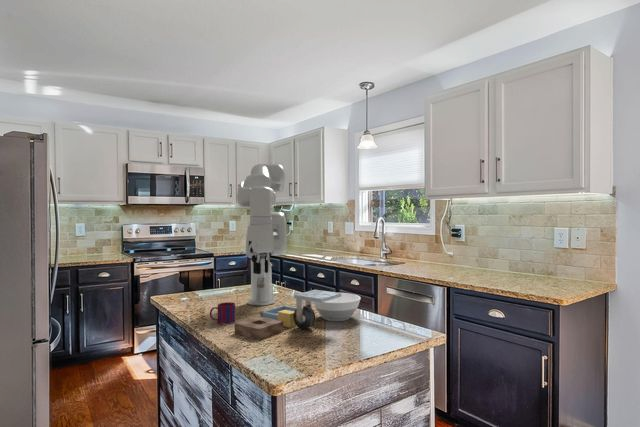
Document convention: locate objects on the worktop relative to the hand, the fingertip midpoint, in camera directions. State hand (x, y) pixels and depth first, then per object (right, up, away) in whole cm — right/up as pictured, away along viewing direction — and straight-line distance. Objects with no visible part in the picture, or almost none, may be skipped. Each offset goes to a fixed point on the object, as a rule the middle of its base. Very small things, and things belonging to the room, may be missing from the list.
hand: (260, 272), depth 145 cm
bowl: (+28, -21, +17) cm, 39 cm away
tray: (+6, -21, +20) cm, 29 cm away
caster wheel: (+19, -21, +1) cm, 28 cm away
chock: (+9, -21, +8) cm, 24 cm away
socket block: (0, -21, -2) cm, 21 cm away
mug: (-17, -21, +12) cm, 29 cm away
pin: (0, -5, 0) cm, 5 cm away
